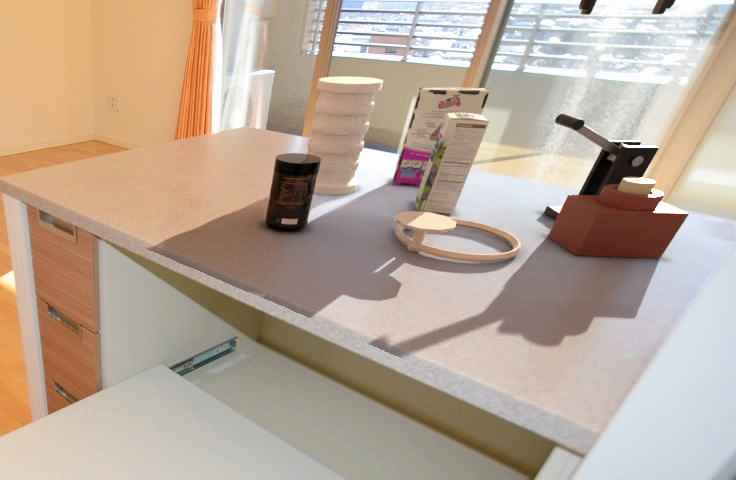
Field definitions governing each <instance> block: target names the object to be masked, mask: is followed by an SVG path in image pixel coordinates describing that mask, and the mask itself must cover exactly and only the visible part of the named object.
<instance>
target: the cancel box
mask: <svg viewBox="0 0 736 480" xmlns="http://www.w3.org/2000/svg"><path fill="white" fill-rule="evenodd" d="M618 186H619V184H610V185H605V186H604V188H603V190H602V191H601V193H600V195H578V194H568V195H567V197H566V199H565V200H564V203H563V205H562V206H563V207H562V209H561V211H560V212H559V214H558V216H557V218H556V220H554V222H553V224H552V227H551V228H550V230H549V232H548V234H547V237H548V238H550V239H551V240H552V241H554V242H555V243H557V244H558V245H560V246H561V247H562V248H564V249H565V250H567V251H568V252H569V253H571V254H573V255H574V256H581V257H583V256H585V257H586V256H587V257H612V258H613V257H614V258H615V257H616V258H643V259H661V258H662V256H663V255H664V253H665V251H666V250H667V248H668V247H669V245H670V244H671V243H672V241H673V240H674V238H675V236H676V235H677V233H678V232H679V230H680V229H681V227H682V226H683V224H684V222H685V221H686V220H687V218H688V216H689V215H690V213H689V212H686V211H684V210H681V209H679V208H678V207H675V206H673V205H671V204H668V203H666V202H664V201H662V200H663V198H664V197H665V194H664V191H662V190H658V189H656V188H653V189H652V191H651V192H650V194H649V195H638V194H631V193H625V192H621V191H618V190H617V188H618Z"/></svg>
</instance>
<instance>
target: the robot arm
mask: <svg viewBox="0 0 736 480" xmlns="http://www.w3.org/2000/svg"><path fill="white" fill-rule="evenodd" d="M597 1H598V0H580V2H579V3H578V4H579V5H578V9H579V10H581V11H580V15H583V16H589V15H591V14H592V12H593V10H594V8H595V6H596V3H597ZM676 1H677V0H656V3H655V5H654V7H653V9H652V11H651V14H652V15H664V13H665V12H666V10H670V9H671V8H672V7H673V6H674V4H675V3H676Z"/></svg>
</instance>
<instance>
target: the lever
mask: <svg viewBox="0 0 736 480" xmlns="http://www.w3.org/2000/svg"><path fill="white" fill-rule="evenodd" d="M554 122H555V124H556V125H559V126H561V127H564V128H567V129H570V130H573V132H576V133H577V134H579V135H581V136H582V137H584V138H585V139H587V140H588V141H590V142H592V143H593V144H595V145H597V146H598V147H600V148H601V149H602V148H603V149H604V150H606V151H608V152H609V153H611V154H610V155H609V156H608V157H607V158H606V159H608V160H609V161H611V162H614V161H615V159H616V157H617V155H618V153H619V151H620V149H621V148H622V146H629V145H626V144H623V143H621V144H620V145H619V146H617V145H615V144H613V143H612V142H610V141H609V140H610V139H607V138H605V137H604V136H602V135H601V134H599V133H598V132H596V131H594V130H593V129H592V128H590V127H588V126H586V124H585V123H586V121H585V120H584V119H582V118H580V117H577V116H574V115H570V114H567V113H563V112H562V113H559V114H558V115H557V116H556V118H555V120H554Z"/></svg>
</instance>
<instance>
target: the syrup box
mask: <svg viewBox="0 0 736 480" xmlns="http://www.w3.org/2000/svg"><path fill="white" fill-rule="evenodd" d="M489 123H490V120H488V119H487V118H486V117H485V116H484V115H483V114H481V115H478V114H472V113H446V115H445V117H444V120H443V123H442V126H441V129H440V132H439V134H438V137H437V140H436V142H435V145H434V148H433V151H432V153H431V156H430V159H429V162H428V164H427V167H426V170H425V173H424V176H423V178H422V181H421V184H420V187H418V190H417V192H416V193H417V194H416V196H415V199H414V205H415V208H416V211H417V212H430V213H435V214H450V215H451V214H454V211H455V209H456V207H457V203H458V201H459V198H460V196H461V193H462V191H463V189H464V186H465V184H466V181H467V180H468V179H467V178H468V176H469V173H470V171H471V169H472V167H473V164H474V161H475V158H476V156H477V154H478V151H479V149H480V146H481V144H482V142H483V139H484V136H485V134H486V131H487V129H488V126H489Z"/></svg>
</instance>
